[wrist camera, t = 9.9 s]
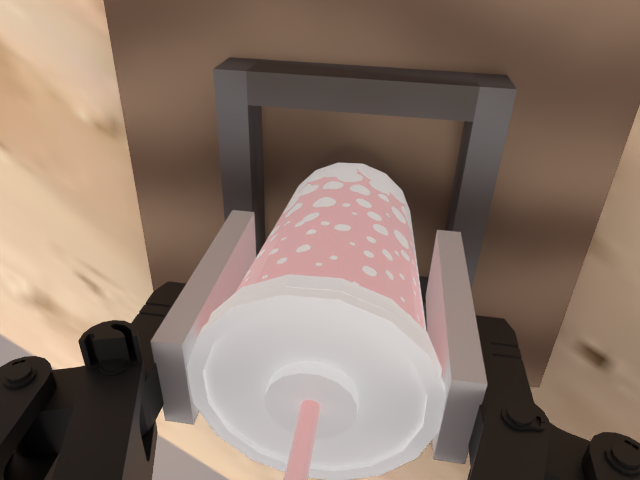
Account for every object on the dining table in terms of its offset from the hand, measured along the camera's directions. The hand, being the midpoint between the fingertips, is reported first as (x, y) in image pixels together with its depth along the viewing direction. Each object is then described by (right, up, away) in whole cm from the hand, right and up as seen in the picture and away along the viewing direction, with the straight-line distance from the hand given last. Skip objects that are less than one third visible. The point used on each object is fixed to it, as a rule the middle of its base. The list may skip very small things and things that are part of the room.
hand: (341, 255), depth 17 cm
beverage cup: (0, +1, +2) cm, 3 cm away
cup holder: (+1, +3, +5) cm, 6 cm away
